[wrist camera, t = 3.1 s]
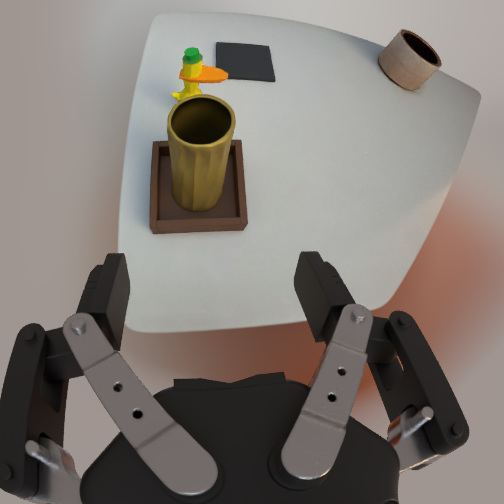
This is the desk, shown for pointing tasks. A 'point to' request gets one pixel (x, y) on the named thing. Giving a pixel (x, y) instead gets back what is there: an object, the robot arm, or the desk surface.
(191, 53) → the toy figure
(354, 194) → the desk surface
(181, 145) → the vase
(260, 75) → the mat
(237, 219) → the tray
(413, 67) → the planter
